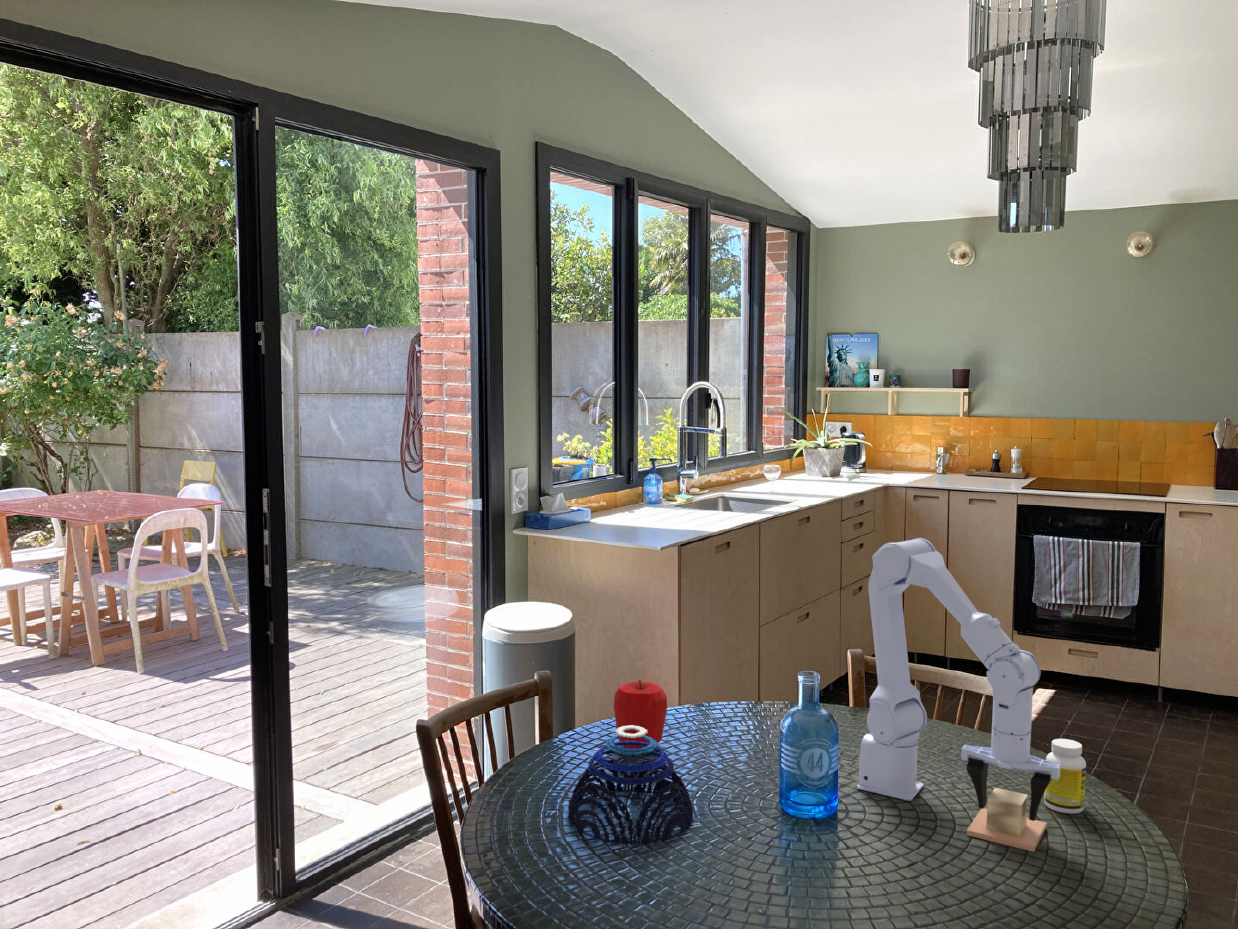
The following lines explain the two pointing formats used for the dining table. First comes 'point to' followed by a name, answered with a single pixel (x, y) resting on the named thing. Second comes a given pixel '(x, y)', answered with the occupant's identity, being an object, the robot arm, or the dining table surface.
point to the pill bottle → (1067, 778)
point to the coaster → (1025, 841)
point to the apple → (640, 710)
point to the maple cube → (1007, 811)
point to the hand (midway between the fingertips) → (1007, 812)
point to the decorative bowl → (659, 789)
